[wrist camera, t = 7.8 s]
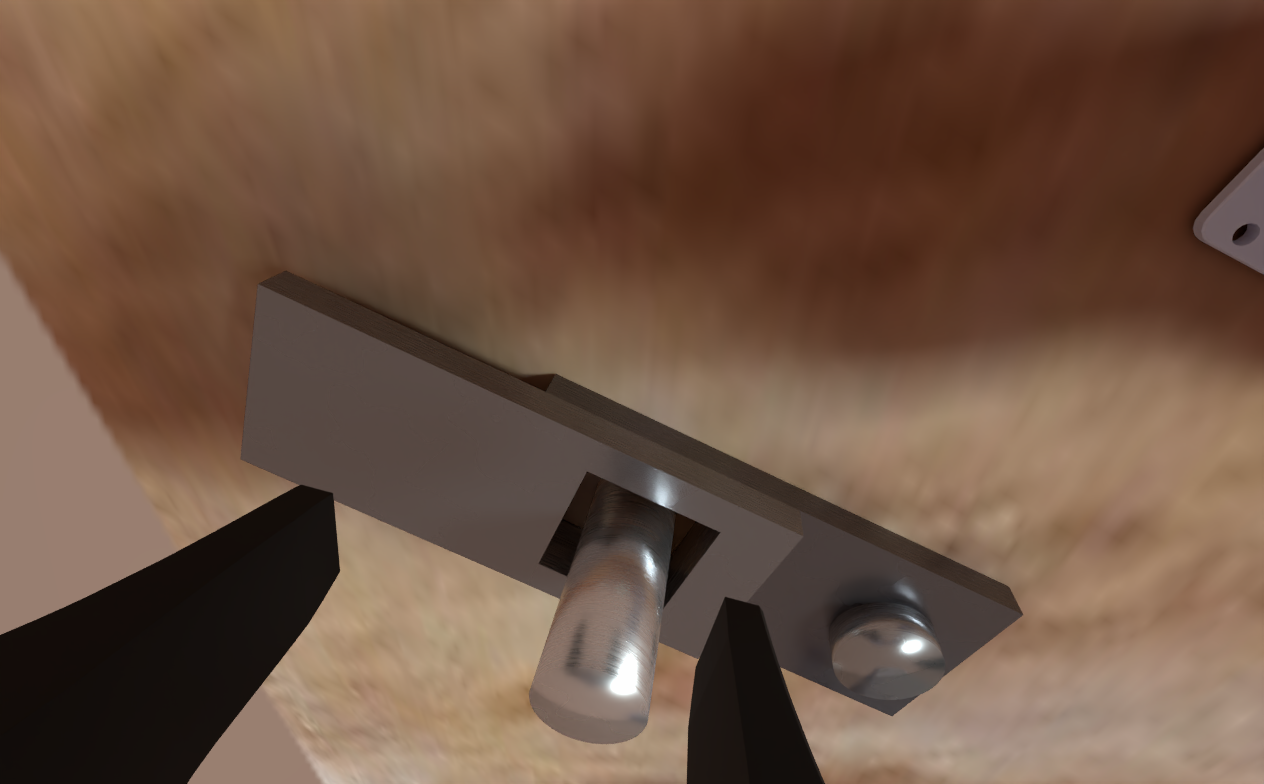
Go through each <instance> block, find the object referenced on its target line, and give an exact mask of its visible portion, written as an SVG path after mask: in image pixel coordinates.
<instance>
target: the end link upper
mask: <svg viewBox="0 0 1264 784" xmlns="http://www.w3.org/2000/svg"><path fill="white" fill-rule="evenodd" d="M241 460H243V461H246V462H248V463H250V464H252V465H255V466H257V467H259V468H262V469H264V470H266V471H268V472H271V473H273V474H275V475H278V476H280V477H282V478H285V479H287V480H289V481H291V482H294V483H296V484H298V485H305V486H309V487H312V488H316V489H320V490H324V491H327V492H331V493H333V498H334V500H335V501H337V502H339V503H342V504H344V505H346V506H349V507H351V508H353V509H356V510H358V511H360V512H362V513H365V514H367V515H369V516H372V517H374V518H376V519H378V520H381V521H383V522H385V523H388V524H390V525H392V526H394V527H397V528H399V529H401V530H404V531H406V532H408V533H410V534H413V535H415V536H417V537H420V538H422V539H424V540H427V541H429V542H431V543H433V544H436V545H438V546H440V547H443V548H445V549H447V550H449V551H452V552H454V553H456V554H459V555H461V556H463V557H465V558H468V559H470V560H472V561H475V562H477V563H479V564H481V565H484V566H486V567H488V568H491V569H493V570H495V571H498V572H500V573H502V574H504V575H507V576H509V577H511V578H514V579H516V580H518V581H520V582H523V583H525V584H527V585H530V586H532V587H534V588H536V589H539V590H541V591H543V592H546V593H548V594H550V595H552V596H555V597H557V598H559V599H560V598H561V595H562V592H563V588H564V585H565V582H566V579H567V576H568V573H569V570H570V567H571V564H572V561H573V558H574V555H575V551H573V550H571V549H568V548H566V547H564V546H562V545H559V544H557V543H555V542H553V541H551V539H552V537H553V535H554V533H555V531H556V529H557V527H558V525H559V524H560V522H561V520H562V518H563V516H564V514H565V512H566V510H567V508H568V507H569V505H570V503H571V501H572V499H573V497H574V495H575V493H576V491H577V489H578V488H579V486H580V484H581V482H582V480H583V478H584V476H585V474H586V472H590V473H592V474H594V475H596V476H598V477H600V478H603V479H605V480H607V481H609V482H611V483H614V484H616V485H618V486H620V487H622V488H625V489H627V490H629V491H631V492H633V493H635V494H638V495H640V496H642V497H644V498H646V499H649V500H651V501H653V502H655V503H657V504H659V505H662V506H664V507H666V508H668V509H670V510H673V511H675V512H677V513H679V514H681V515H684V516H686V517H688V518H690V519H692V520H694V521H697V522H699V523H701V524H703V525H705V526H708V527H707V528H706V529H705V531H704V532H703V533H702V535H701V536H700V538H699V539H698V540H697V542H696V543H695V544H694V546H693V547H692V549H691V550H690V551H689V553H688V554H687V555H686V557H685V558H684V560H683V561H682V562H681V564H680V565H679V567H678V568H677V569H676V571H675V572H674V573H673V575H672V576H671V578H670V579H669V580H668V582H667V584H666V591H665V598H664V606H663V613H662V620H661V628H660V635H659V642H660V643H662V644H665V645H667V646H669V647H672V648H674V649H676V650H678V651H681V652H683V653H685V654H688V655H690V656H692V657H694V658H697V659H698V658H699V657H700V656H701V653H702V651H703V649H704V646H705V644H706V641H707V639H708V637H709V634H710V632H711V629H712V627H713V624H714V622H715V620H716V617H717V615H718V612H719V610H720V607H721V605H722V603H723V600H724V598H725V597H728V598H732V599H736V600H740V601H743V602H747V601H748V600H749V599H750V598H751V597H752V596H753V594H754V593H755V592H756V591H757V590H758V589H759V587H760V586H761V585H762V584H763V583H764V582H765V581H766V579H767V578H768V577H769V576H770V575H771V574H772V572H773V571H774V570H775V569H776V568H777V567H778V565H779V564H780V563H781V562H782V561H783V560H784V559H785V557H786V556H787V555H788V554H789V553H790V552H791V550H792V549H793V548H794V547H795V546H796V545H797V544H798V542H799V541H800V540H801V539H802V538H803V537H804V536H803V529H802V522H801V514H800V510H798V509H796V508H793V507H791V506H789V505H787V504H785V503H783V502H781V501H778V500H776V499H774V498H772V497H770V496H768V495H766V494H763V493H761V492H759V491H757V490H755V489H753V488H750V487H748V486H746V485H744V484H742V483H740V482H738V481H735V480H733V479H731V478H729V477H727V476H725V475H723V474H720V473H718V472H716V471H714V470H712V469H710V468H708V467H705V466H703V465H701V464H699V463H697V462H695V461H693V460H690V459H688V458H686V457H684V456H682V455H680V454H678V453H675V452H673V451H671V450H669V449H667V448H665V447H663V446H660V445H658V444H656V443H654V442H652V441H650V440H648V439H645V438H643V437H641V436H639V435H637V434H635V433H633V432H630V431H628V430H626V429H624V428H622V427H620V426H618V425H615V424H613V423H611V422H609V421H607V420H605V419H603V418H600V417H598V416H596V415H594V414H592V413H590V412H588V411H585V410H583V409H581V408H579V407H577V406H575V405H573V404H570V403H568V402H566V401H564V400H562V399H560V398H558V397H555V396H553V395H551V394H549V393H547V392H545V391H543V390H540V389H538V388H536V387H534V386H532V385H530V384H528V383H525V382H523V381H521V380H519V379H517V378H515V377H513V376H510V375H508V374H506V373H504V372H502V371H500V370H498V369H495V368H493V367H491V366H489V365H487V364H485V363H483V362H480V361H478V360H476V359H474V358H472V357H470V356H468V355H465V354H463V353H461V352H459V351H457V350H455V349H453V348H450V347H448V346H446V345H444V344H442V343H440V342H437V341H435V340H433V339H431V338H429V337H427V336H425V335H422V334H420V333H418V332H416V331H414V330H412V329H410V328H407V327H405V326H403V325H401V324H399V323H397V322H395V321H392V320H390V319H388V318H386V317H384V316H382V315H380V314H377V313H375V312H373V311H371V310H369V309H367V308H365V307H362V306H360V305H358V304H356V303H354V302H352V301H350V300H347V299H345V298H343V297H341V296H339V295H337V294H335V293H332V292H330V291H328V290H326V289H324V288H322V287H320V286H317V285H315V284H313V283H311V282H309V281H307V280H305V279H302V278H300V277H298V276H296V275H294V274H292V273H290V272H287V271H284V272H282V273H280V274H278V275H276V276H274V277H272V278H270V279H268V280H265V281H263V282H261V283H259V284H258V288H257V298H256V308H255V318H254V328H253V338H252V348H251V358H250V368H249V378H248V388H247V399H246V409H245V419H244V429H243V439H242V449H241Z"/></svg>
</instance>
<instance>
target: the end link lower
mask: <svg viewBox="0 0 1264 784" xmlns="http://www.w3.org/2000/svg"><path fill="white" fill-rule="evenodd" d="M546 392H547V393H549V394H551V395H553V396H555V397H558V398H560V399H562V400H564V401H566V402H568V403H570V404H573V405H575V406H577V407H579V408H581V409H583V410H585V411H588V412H590V413H592V414H594V415H596V416H598V417H600V418H603V419H605V420H607V421H609V422H611V423H613V424H615V425H618V426H620V427H622V428H624V429H626V430H628V431H630V432H633V433H635V434H637V435H639V436H641V437H643V438H645V439H648V440H650V441H652V442H654V443H656V444H658V445H660V446H663V447H665V448H667V449H669V450H671V451H673V452H675V453H678V454H680V455H682V456H684V457H686V458H688V459H690V460H693V461H695V462H697V463H699V464H701V465H703V466H705V467H708V468H710V469H712V470H714V471H716V472H718V473H720V474H723V475H725V476H727V477H729V478H731V479H733V480H735V481H738V482H740V483H742V484H744V485H746V486H748V487H750V488H753V489H755V490H757V491H759V492H761V493H763V494H766V495H768V496H770V497H772V498H774V499H776V500H778V501H781V502H783V503H785V504H787V505H789V506H791V507H793V508H796V509H798V510H800V514H801V522H802V529H803V536H804V537H803V538H802V539H801V540H800V541H799V542H798V544H797V545H796V546H795V547H794V548H793V549H792V550H791V552H790V553H789V554H788V555H787V556H786V557H785V559H784V560H783V561H782V562H781V563H780V564H779V565H778V567H777V568H776V569H775V570H774V571H773V572H772V574H771V575H770V576H769V577H768V578H767V579H766V581H765V582H764V583H763V584H762V585H761V586H760V587H759V589H758V590H757V591H756V592H755V593H754V594H753V596H752V597H751V598H750V599H749V600H748V601H747V603H751V604H755V605H759V606H760V608H761V609H762V611H763V613H764V617H765V620H766V624H767V627H768V631H769V634H770V637H771V641H772V644H773V647H774V650H775V653H776V656H777V660H778V663H779V666H780V667H781V668H784V669H786V670H788V671H790V672H793V673H795V674H797V675H799V676H802V677H804V678H806V679H809V680H811V681H813V682H815V683H818V684H820V685H822V686H824V687H827V688H829V689H831V690H833V691H836V692H838V693H840V694H843V695H845V696H847V697H849V698H852V699H854V700H856V701H858V702H861V703H863V704H865V705H867V706H870V707H872V708H874V709H877V710H879V711H881V712H883V713H886V714H888V715H890V716H893V715H894V714H896V713H897V712H898V711H899V710H901V709H902V708H903V707H905V706H906V705H907V704H908V703H910V702H911V701H912V700H914V699H915V698H916V697H918V696H919V695H920V694H922V693H924V692H926V691H928V690H930V689H931V688H933V687H934V686H935V685H936V684H937V683H938V682H939V681H940V680H941V678H942V677H943V676H945V675H946V674H947V673H949V672H950V671H951V670H952V669H954V668H955V667H956V666H958V665H959V664H960V663H961V662H963V661H964V660H965V659H967V658H968V657H969V656H971V655H972V654H973V653H974V652H976V651H977V650H978V649H980V648H981V647H982V646H983V645H985V644H986V643H987V642H989V641H990V640H991V639H993V638H994V637H995V636H996V635H998V634H999V633H1000V632H1002V631H1003V630H1004V629H1005V628H1007V627H1008V626H1009V625H1011V624H1012V623H1013V622H1015V621H1016V620H1017V619H1018V618H1020V617H1021V616H1022V615H1023V613H1022V611H1021V609H1020V607H1019V605H1018V603H1017V602H1016V600H1015V598H1014V596H1013V594H1012V592H1011V590H1010V588H1009V587H1008V586H1006V585H1004V584H1002V583H999V582H997V581H995V580H993V579H991V578H989V577H987V576H984V575H982V574H980V573H978V572H976V571H974V570H972V569H970V568H967V567H965V566H963V565H961V564H959V563H957V562H955V561H953V560H950V559H948V558H946V557H944V556H942V555H940V554H938V553H936V552H933V551H931V550H929V549H927V548H925V547H923V546H921V545H919V544H916V543H914V542H912V541H910V540H908V539H906V538H904V537H901V536H899V535H897V534H895V533H893V532H891V531H889V530H887V529H884V528H882V527H880V526H878V525H876V524H874V523H872V522H870V521H867V520H865V519H863V518H861V517H859V516H857V515H855V514H853V513H850V512H848V511H846V510H844V509H842V508H840V507H838V506H835V505H833V504H831V503H829V502H827V501H825V500H823V499H821V498H818V497H816V496H814V495H812V494H810V493H808V492H806V491H804V490H801V489H799V488H797V487H795V486H793V485H791V484H789V483H787V482H784V481H782V480H780V479H778V478H776V477H774V476H772V475H770V474H767V473H765V472H763V471H761V470H759V469H757V468H755V467H752V466H750V465H748V464H746V463H744V462H742V461H740V460H738V459H735V458H733V457H731V456H729V455H727V454H725V453H723V452H721V451H718V450H716V449H714V448H712V447H710V446H708V445H706V444H704V443H701V442H699V441H697V440H695V439H693V438H691V437H689V436H687V435H684V434H682V433H680V432H678V431H676V430H674V429H672V428H669V427H667V426H665V425H663V424H661V423H659V422H657V421H655V420H652V419H650V418H648V417H646V416H644V415H642V414H640V413H638V412H635V411H633V410H631V409H629V408H627V407H625V406H623V405H621V404H618V403H616V402H614V401H612V400H610V399H608V398H606V397H603V396H601V395H599V394H597V393H595V392H593V391H591V390H589V389H586V388H584V387H582V386H580V385H578V384H576V383H574V382H572V381H569V380H567V379H565V378H563V377H561V376H559V375H557V374H555V376H554V378H553V380H552V381H551V383H550V385H549V386H548V388H547V390H546ZM707 527H708V526H705V525H703V524H701V523H699V522H697V521H696V523H695V524H694V525H693V527H692V528H691V530H690V531H689V533H688V534H687V535H686V537H685V538H684V540H683V541H682V542H681V544H680V545H679V547H678V548H677V550H676V551H675V552H674V554H673V555H672V557H671V558H670V562H669V569H668V577H667V582H668V580H669V579H670V578H671V576H672V575H673V573H674V572H675V571H676V569H677V568H678V567H679V565H680V564H681V562H682V561H683V560H684V558H685V557H686V555H687V554H688V553H689V551H690V550H691V549H692V547H693V546H694V544H695V543H696V542H697V540H698V539H699V538H700V536H701V535H702V533H703V532H704V531H705V529H706V528H707ZM582 531H583V529H582V528H579V527H577V526H575V525H573V524H570V523H568V522H566V521H564V520H561V522H560V524H559V525H558V527H557V529H556V531H555V533H554V535H553V537H552V539H551V541H553V542H555V543H557V544H559V545H562V546H564V547H566V548H568V549H571V550H573V551H575V552H576V549H577V546H578V543H579V540H580V537H581V534H582Z"/></svg>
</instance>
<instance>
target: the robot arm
mask: <svg viewBox="0 0 1264 784" xmlns="http://www.w3.org/2000/svg"><path fill="white" fill-rule="evenodd" d="M1245 224H1247V230H1246V232H1245V233H1244V235H1243V236H1241V237H1240V238H1238V239H1237V240H1234V241H1232V237H1233V234H1234V233H1235V231H1236V230H1237V229H1238V228H1240V227H1241V226H1243V225H1245ZM1193 231H1194V235H1195V236H1196V237H1197V238H1198V239H1199V240H1200V241H1202V242H1204V243H1206V244H1207V245H1209V246H1211V247H1213V248H1215V249H1217V250H1219V251H1220V252H1222V253H1224V254H1226V255H1228V256H1230V257H1231V258H1233V259H1235V260H1237V261H1239V262H1241V263H1243V264H1244V265H1246V266H1248V267H1250V268H1252V269H1254V270H1255V271H1257V272H1259V273H1261V274H1263V275H1264V148H1263V149H1262V150H1261V151H1260V152H1259V153H1258V154H1257V155H1256V156H1255V157H1254V158H1253V159H1252V160H1251V161H1250V162H1249V163H1248V164H1247V165H1246V166H1245V167H1244V168H1243V169H1242V171H1241V172H1240V173H1239V174H1238V175H1237V176H1236V177H1235V178H1234V179H1233V180H1232V181H1231V182H1230V183H1229V184H1228V185H1227V186H1226V187H1225V188H1224V189H1223V190H1222V191H1221V192H1220V193H1219V194H1218V195H1217V196H1216V197H1215V198H1214V199H1213V200H1212V201H1211V202H1210V203H1209V204H1208V205H1207V206H1206V207H1205V209H1204V210H1203V211H1202V212H1201V213H1200V214H1199V216H1198V217H1197V218H1196V220H1195V223H1194V226H1193ZM339 572H340V566H339V554H338V543H337V532H336V521H335V509H334V498H333V493H331V492H327V491H324V490H320V489H316V488H312V487H309V486H305V485H299V486H297V487H295V488H293V489H291V490H290V491H288V492H286V493H284V494H282V495H280V496H278V497H277V498H275V499H273V500H271V501H269V502H268V503H266V504H264V505H262V506H260V507H258V508H257V509H255V510H253V511H251V512H249V513H248V514H246V515H244V516H242V517H240V518H239V519H237V520H235V521H233V522H231V523H229V524H228V525H226V526H224V527H222V528H220V529H219V530H217V531H215V532H213V533H211V534H209V535H207V536H206V537H204V538H202V539H200V540H198V541H196V542H194V543H192V544H191V545H189V546H187V547H185V548H183V549H181V550H179V551H177V552H176V553H174V554H172V555H170V556H168V557H166V558H164V559H162V560H160V561H159V562H156V563H154V564H152V565H151V566H148V567H146V568H144V569H142V570H140V571H138V572H136V573H134V574H132V575H130V576H128V577H126V578H124V579H122V580H120V581H118V582H116V583H114V584H112V585H110V586H108V587H106V588H104V589H102V590H100V591H98V592H96V593H94V594H92V595H89V596H87V597H86V598H83V599H81V600H79V601H77V602H75V603H72V604H70V605H68V606H66V607H64V608H62V609H59V610H57V611H55V612H53V613H50V614H48V615H46V616H44V617H41V618H39V619H37V620H34V621H32V622H30V623H27V624H25V625H23V626H21V627H18V628H16V629H13V630H11V631H9V632H6V633H4V634H1V635H0V784H187V783H188V781H189V779H190V778H191V777H192V775H193V774H194V772H195V771H196V769H197V768H198V767H199V765H200V764H201V762H202V761H203V760H204V758H205V757H206V756H207V754H208V753H209V751H210V750H211V749H212V747H213V746H214V745H215V743H216V742H217V741H218V739H219V738H220V737H221V736H222V734H223V733H224V732H225V731H226V729H227V728H228V727H229V725H230V724H231V723H232V722H233V720H234V719H235V718H236V717H237V715H238V714H239V713H240V711H241V710H242V709H243V708H244V706H245V705H246V704H247V702H248V701H249V700H250V699H251V697H252V696H253V695H254V693H255V692H256V691H257V690H258V688H259V687H260V686H261V685H262V683H263V682H264V681H265V679H266V678H267V677H268V676H269V674H270V673H271V672H272V670H273V669H274V668H275V667H276V665H277V664H278V663H279V661H280V660H281V659H282V658H283V656H284V655H285V654H286V652H287V651H288V650H289V648H290V647H291V646H292V645H293V643H294V642H295V641H296V639H297V638H298V637H299V635H300V634H301V633H302V631H303V630H304V629H305V627H306V626H307V625H308V623H309V622H310V620H311V619H312V617H313V616H314V614H315V612H316V611H317V609H318V608H319V606H320V604H321V603H322V601H323V600H324V598H325V596H326V594H327V593H328V591H329V589H330V588H331V586H332V584H333V582H334V581H335V579H336V577H337V576H338V574H339ZM687 784H825V783H824V780H823V778H822V776H821V774H820V771H819V769H818V766H817V764H816V762H815V759H814V757H813V754H812V752H811V749H810V747H809V744H808V742H807V739H806V737H805V734H804V731H803V729H802V726H801V724H800V721H799V719H798V716H797V713H796V711H795V708H794V706H793V703H792V700H791V697H790V695H789V692H788V689H787V686H786V683H785V680H784V677H783V674H782V671H781V669H780V666H779V663H778V660H777V656H776V653H775V650H774V647H773V644H772V641H771V637H770V634H769V631H768V627H767V624H766V620H765V617H764V613H763V611H762V609H761V608H760V606H759V605H755V604H751V603H747V602H743V601H740V600H736V599H732V598H728V597H725V598H724V600H723V603H722V605H721V607H720V610H719V612H718V615H717V617H716V620H715V622H714V624H713V627H712V629H711V632H710V634H709V637H708V639H707V641H706V644H705V646H704V649H703V651H702V653H701V656H700V658H699V661H698V663H697V666H696V670H695V677H694V685H693V693H692V701H691V709H690V718H689V726H688V758H687Z"/></svg>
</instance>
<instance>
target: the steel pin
mask: <svg viewBox="0 0 1264 784" xmlns="http://www.w3.org/2000/svg"><path fill="white" fill-rule="evenodd" d="M675 518H676V512H675V511H673V510H670V509H668V508H666V507H664V506H662V505H659V504H657V503H655V502H653V501H651V500H649V499H646V498H644V497H642V496H640V495H638V494H635V493H633V492H631V491H629V490H627V489H625V488H622V487H620V486H618V485H616V484H614V483H611V482H609V481H607V480H605V479H603V478H602V479H601V480H600V481H599V483H598V485H597V488H596V491H595V494H594V497H593V501H592V504H591V507H590V510H589V513H588V516H587V519H586V522H585V525H584V528H583V531H582V534H581V537H580V540H579V543H578V546H577V549H576V552H575V555H574V558H573V561H572V564H571V567H570V570H569V573H568V576H567V579H566V582H565V585H564V588H563V592H562V595H561V598H560V601H559V604H558V607H557V610H556V613H555V616H554V619H553V622H552V625H551V628H550V631H549V634H548V637H547V640H546V643H545V646H544V649H543V652H542V655H541V658H540V661H539V664H538V667H537V670H536V673H535V676H534V679H533V682H532V686H531V689H530V692H529V699H530V703H531V706H532V708H533V710H534V712H535V713H536V714H537V716H538V717H539V718H540V719H541V720H542V721H543V722H544V723H545V724H547V725H548V726H549V727H551V728H552V729H554V730H555V731H557V732H559V733H561V734H563V735H565V736H568V737H570V738H573V739H576V740H579V741H583V742H588V743H595V744H615V743H621V742H624V741H628V740H630V739H632V738H634V737H636V736H637V735H639V734H640V733H641V732H642V731H643V730H644V728H645V727H646V725H647V721H648V716H649V708H650V701H651V694H652V686H653V679H654V672H655V664H656V657H657V650H658V642H659V635H660V628H661V620H662V613H663V606H664V598H665V591H666V584H667V577H668V569H669V562H670V555H671V547H672V540H673V533H674V525H675Z"/></svg>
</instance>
